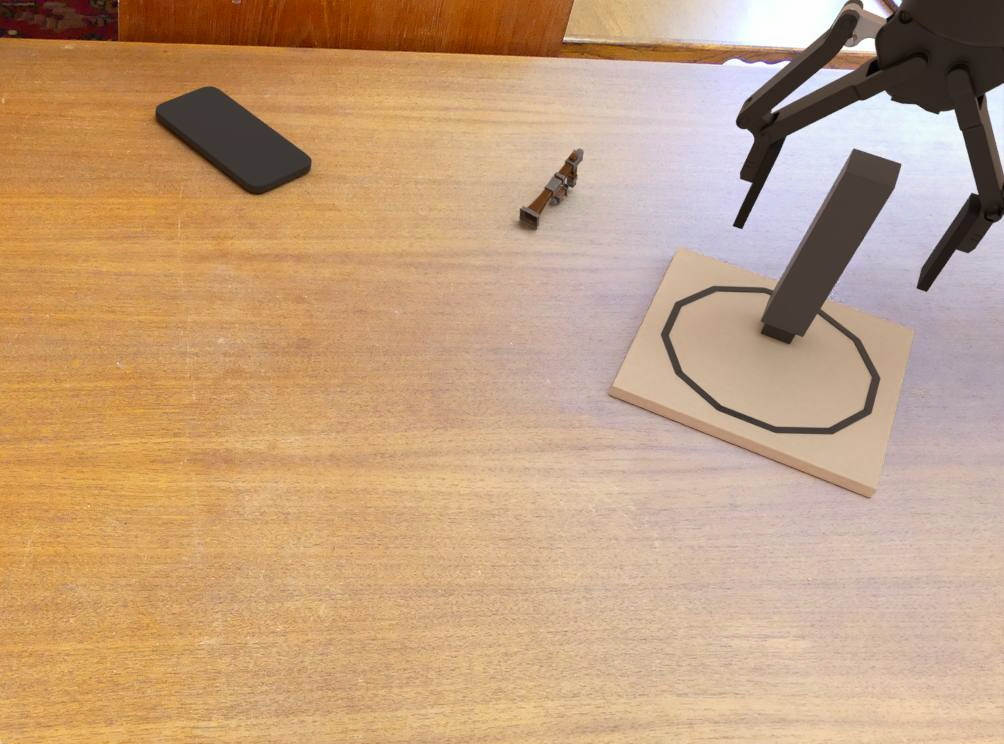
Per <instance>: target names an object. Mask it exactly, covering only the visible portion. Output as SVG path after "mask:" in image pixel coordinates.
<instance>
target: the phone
mask: <svg viewBox="0 0 1004 744" xmlns="http://www.w3.org/2000/svg"><path fill="white" fill-rule="evenodd" d="M155 117H156V120H158V122H160V123H161V124H163V126H165V127H167V128H168V129H169V130H170V131H171V132H173V133H174V134H176V135H177V136H178V137H179V138H180V139H182V140H183V141H184V142H186V143H187V144H188V145H190V147H192V148H193V149H194V150H196V151H197V152H199V153H200V154H201V155H202V156H204V157H205V158H206V159H207V160H209V161H210V162H211V163H212V164H214V165H215V166H216V168H218V169H220V170H221V171H222V172H224V173H225V174H226V175H228V176H229V177H230V178H231V179H232V180H234V181H235V182H236V183H238V184H239V185H240V186H241V187H242V188H244V189H245V190H247V191H249V192H251V193H255V194H260V193H264V192H267V191H269V190H272V189H274V188H276V187H278V186H281V185H283V184H284V183H287V182H289V181H291V180H293V179H295V178H298V177H300V176H302V175H305V174H306V173H308V172H310V170H311V169H312V163H313V161H312V158H311V157H310V155H308V154H307V153H306V152H305V151H304V150H302V149H300V148H299V147H298V146H297V145H295V144H294V143H292V142H291V141H290V140H289V139H287V138H286V137H285V136H283V135H282V134H280V133H279V132H278V131H277V130H275V129H274V128H272V127H271V126H269V125H268V124H267V123H265V122H264V121H263V120H261V119H260V118H259V117H257V116H256V115H255V114H253V112H251V111H250V110H248V109H246V108H245V107H244V106H243V105H241V104H240V103H239V102H238V101H236V100H235V99H234V98H232V97H231V96H229V95H228V94H227V93H225V92H224V91H222V90H221V89H220V88H218V87H216V86H210V85H208V86H203V87H200V88H196V89H194V90H191V91H189V92H187V93H184V94H182V95H179V96H176V97H174V98H171V99H169V100H166V101H164V102H161V103H159V104H157V105H156V107H155Z"/></svg>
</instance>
